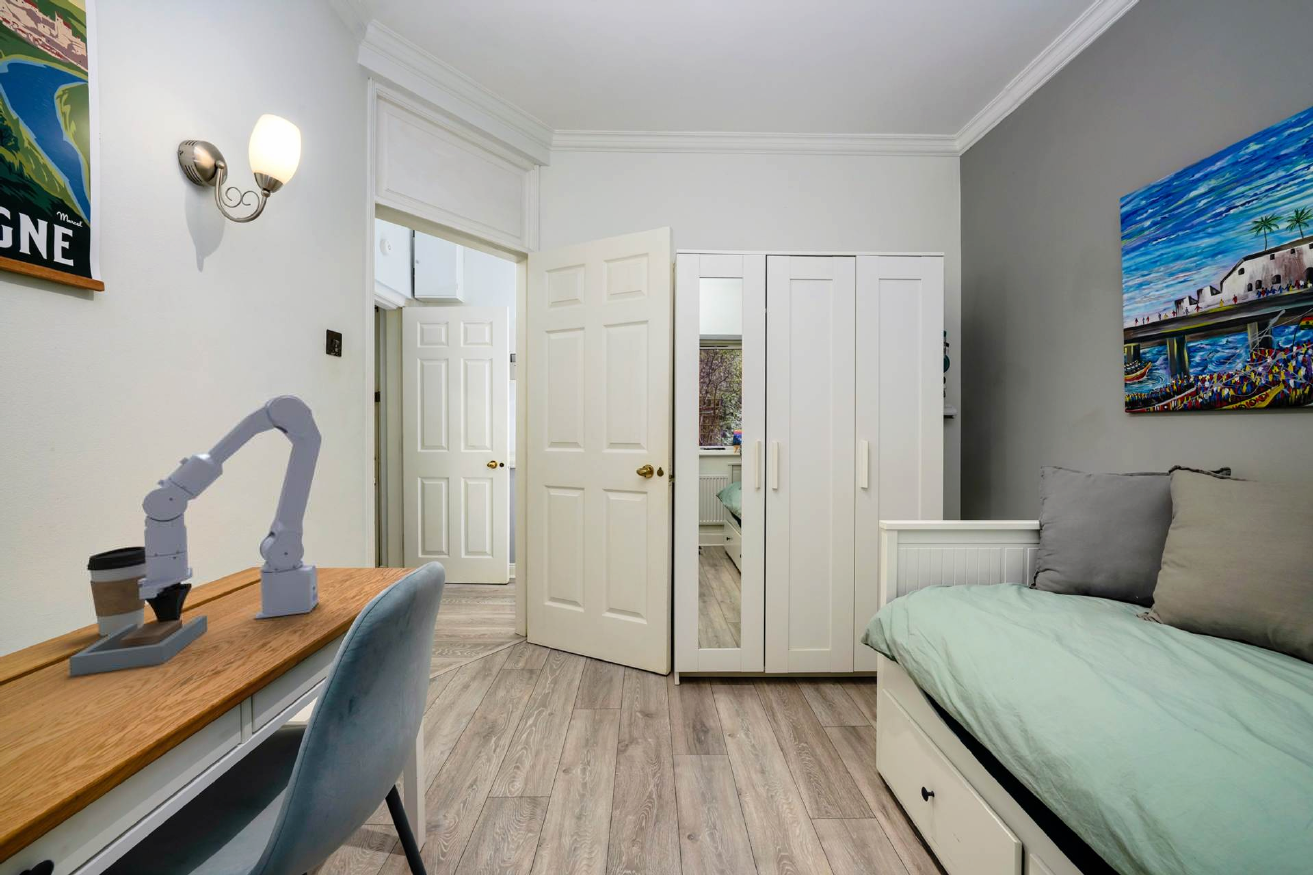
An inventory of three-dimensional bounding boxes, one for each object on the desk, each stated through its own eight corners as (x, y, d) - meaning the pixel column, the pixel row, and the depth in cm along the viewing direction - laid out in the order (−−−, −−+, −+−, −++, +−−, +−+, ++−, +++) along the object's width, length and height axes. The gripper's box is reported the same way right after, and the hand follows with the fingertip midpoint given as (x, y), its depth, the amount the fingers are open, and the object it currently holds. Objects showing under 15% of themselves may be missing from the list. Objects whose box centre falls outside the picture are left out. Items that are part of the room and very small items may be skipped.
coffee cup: (164, 622, 105) (161, 545, 105) (117, 638, 97) (114, 556, 97) (125, 621, 106) (123, 546, 106) (75, 638, 98) (72, 556, 98)
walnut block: (182, 638, 97) (182, 619, 97) (159, 655, 90) (159, 634, 89) (147, 643, 95) (146, 623, 95) (121, 661, 88) (120, 639, 88)
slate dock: (207, 629, 100) (206, 615, 100) (164, 663, 86) (163, 645, 86) (129, 639, 97) (128, 623, 97) (70, 675, 82) (69, 657, 82)
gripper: (159, 547, 104) (162, 617, 104) (115, 564, 90) (118, 644, 90) (204, 543, 106) (207, 612, 107) (167, 559, 93) (170, 638, 93)
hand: (169, 626), depth 99 cm, fingers closed
